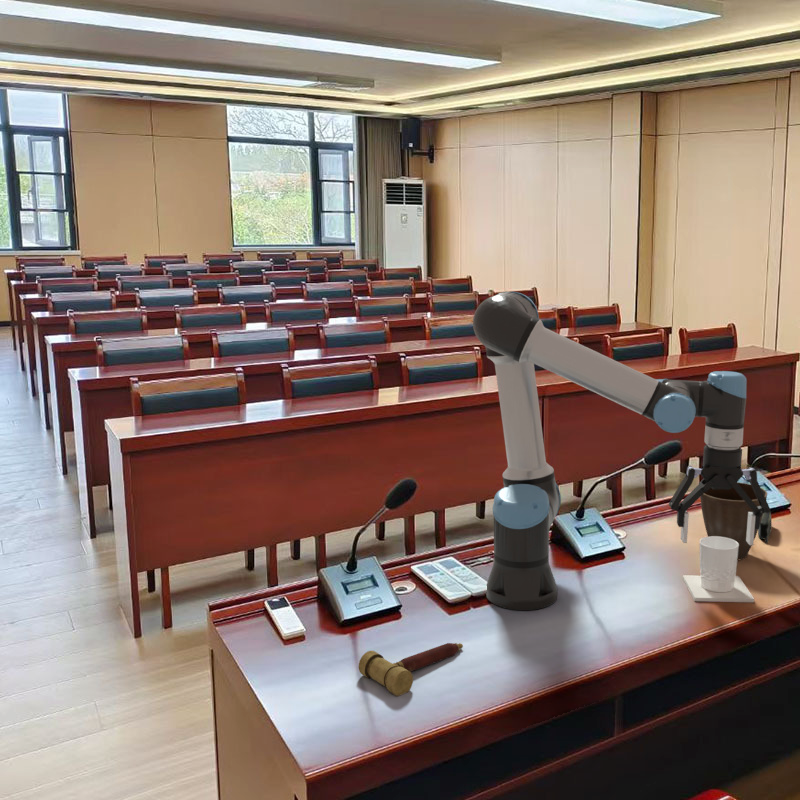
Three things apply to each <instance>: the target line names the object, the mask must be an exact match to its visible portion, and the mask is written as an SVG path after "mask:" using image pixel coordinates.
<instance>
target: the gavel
mask: <svg viewBox="0 0 800 800" xmlns="http://www.w3.org/2000/svg"><path fill="white" fill-rule="evenodd" d="M463 647H464V645H463V643H461V642H460V643H457V642H455V643H452V642H447V643H443V644H442V645H438V646H436V647H432V648H430V649H427V650H424V651H421V652H419V653H416V654H412V655H409V656H408V657H407V656H406V657H405V658H402V659H401V660H399V661H396V662H394V663H392V662H390V661H389V660H387V659H385V658H384V656H383V655H381V654H380V653H379V652H377V651H375V650H368V651H366V652H365V653H364V654H362V656H361V657H360V659H359V662H358V672H359V673H360V674H361V675H363V676H364V677H365V678H367V679H369V680H370V679H372V680H374V681H375V682H377V683H379V684H380V685H382V686H384V687H385V688H386V689H387V691H389V693H391V694H392V695H395V697H400V696H402V695H404V694H406V693H408V692H409V691H410V690H411V688H412V687H413V683H414V682H413V681H414V676H413V674H412V672H413V671H417V670H420V669H422V668H425V667H427V666H429V665H430V666H431V665H432V664H437V662H438V663H439V662H441V661H443V660H446V659H449V658H451V657H454V656H455V655H456V654H457V652H458V653H459V651H460V650H461V649H463Z"/></svg>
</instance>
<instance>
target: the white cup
mask: <svg viewBox="0 0 800 800" xmlns="http://www.w3.org/2000/svg"><path fill="white" fill-rule="evenodd" d="M738 548H739V544H738V542H737V541H735V540H733V539H730V538H726V537H719V536H709V537H708V536H704V537H701V538H700V539H699V570H700V571H699V573H700V576H701V586H702V587H703V588H704V589H707V590H709V591H713V592H729V591H731V590H733V589H734V581H735V576H737V566H738V560H737V559H738Z"/></svg>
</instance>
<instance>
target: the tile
mask: <svg viewBox="0 0 800 800" xmlns="http://www.w3.org/2000/svg"><path fill="white" fill-rule="evenodd" d="M682 580H683V582H684V585H686V588H687V589H688V591H689V593H690V595H691V597H692V599H693V601H694V602H714V603H715V602H719V603H720V602H722V603H723V602H724V603H755V598H754V596H753V594H752V593H751V592H750V590H749V589H748V587H747V586H746V584H745V583H744V582H743V580H742V579H741V577H740V576H739V575H736V576H735V581H734V589H733V590H731V591H729V592H713V591H709V590H707V589H704V588H703V587H702V586H701V575H688V574H687V575H685V574H683V575H682Z"/></svg>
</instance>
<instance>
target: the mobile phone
mask: <svg viewBox="0 0 800 800" xmlns="http://www.w3.org/2000/svg"><path fill="white" fill-rule="evenodd" d="M771 533H772V511H770V512H769V513H763V516H762V519H761V523H760V526H759V529H758V531H757V537H758V538H759V539H761V540H764V541H765V544H768V543H769V538H770V535H771Z"/></svg>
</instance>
